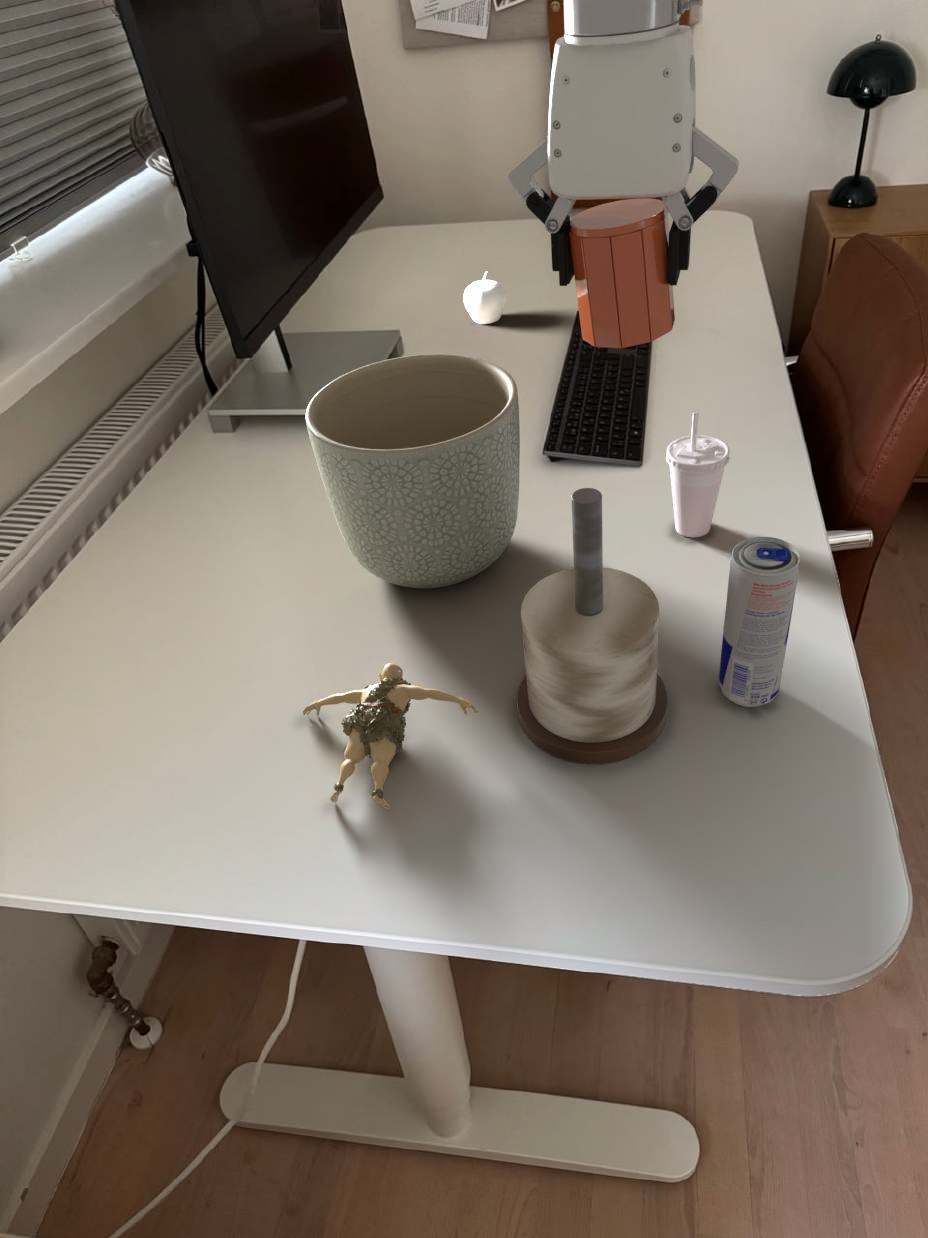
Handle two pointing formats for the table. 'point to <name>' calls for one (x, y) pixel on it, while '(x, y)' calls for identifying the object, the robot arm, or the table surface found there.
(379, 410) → the planter
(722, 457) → the smoothie
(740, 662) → the beverage can
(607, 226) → the orange brown faceted cylinder
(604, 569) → the towel holder
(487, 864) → the table surface
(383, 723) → the figurine
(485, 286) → the plain white apple
